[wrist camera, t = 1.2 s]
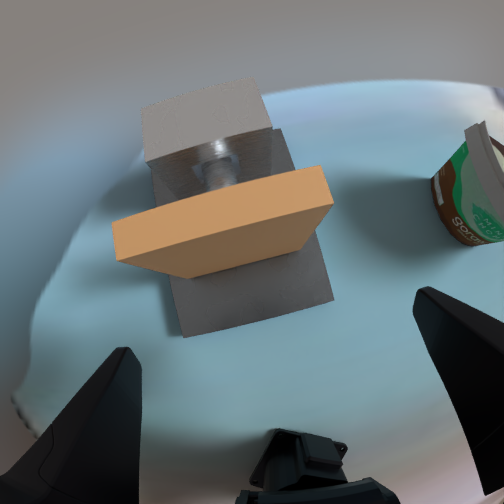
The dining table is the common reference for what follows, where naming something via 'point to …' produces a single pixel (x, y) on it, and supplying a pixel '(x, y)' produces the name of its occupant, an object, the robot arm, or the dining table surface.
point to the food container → (472, 189)
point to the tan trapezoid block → (225, 222)
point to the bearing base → (250, 278)
